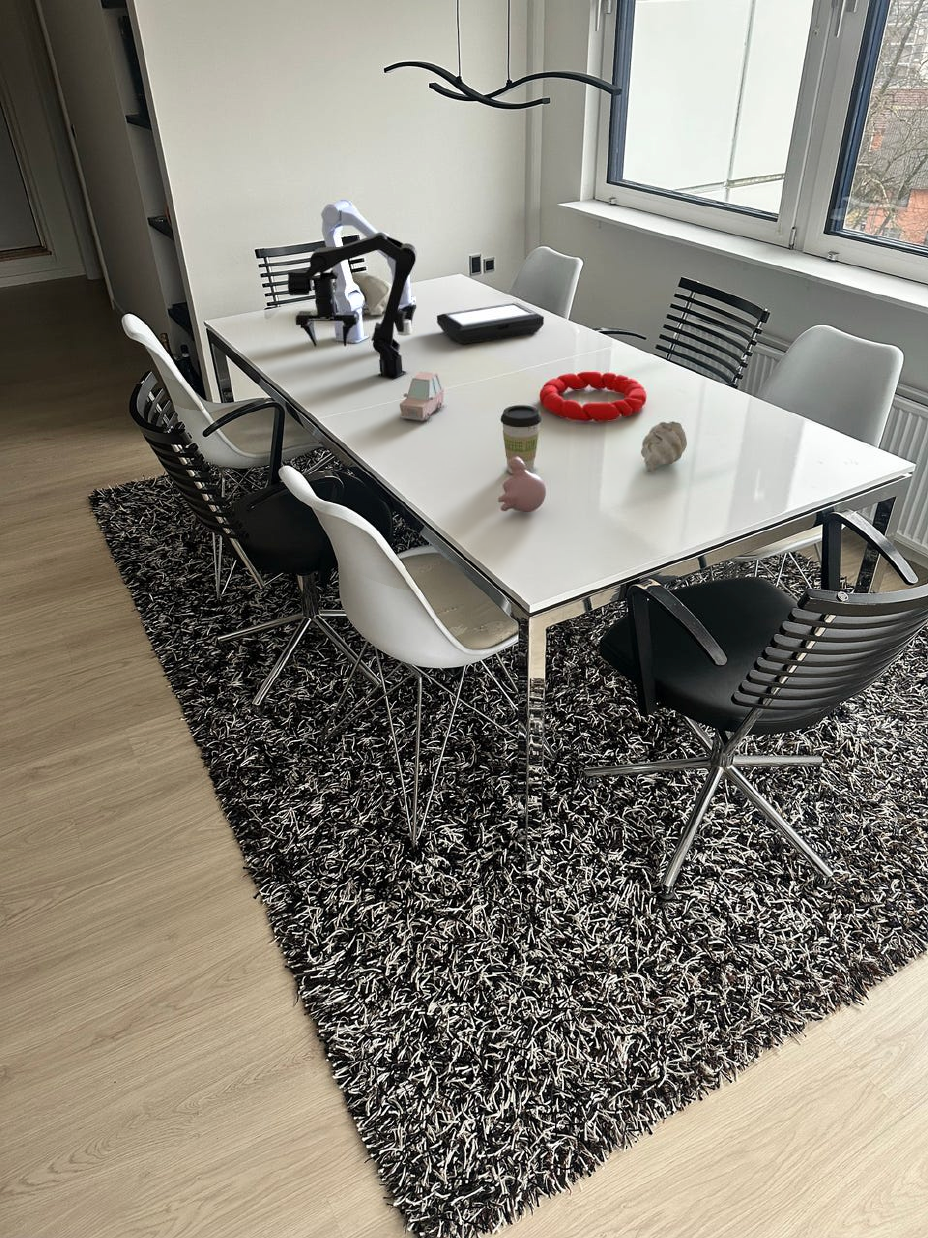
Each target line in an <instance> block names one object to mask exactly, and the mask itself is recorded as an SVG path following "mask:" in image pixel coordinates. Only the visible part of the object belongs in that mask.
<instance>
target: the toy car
mask: <svg viewBox="0 0 928 1238" xmlns="http://www.w3.org/2000/svg"><path fill="white" fill-rule="evenodd" d="M441 384H442V383H441V381H440V378H439V375H438V373H436V372H426V371H419V373H417V374H416V375H414V376H413V377H412V378H411V381H410V385H409V388H408V390H407V391H408V392H407V393H404V394H403V397H404V398H405V399H404V400H403V401H401V402H400V403H399V409H400V414H401V418H402V419H407V420H415V421H423V422H424V421H425V422H426V421H429V420H430V416H431V414H433V413H434V412H435V411H440V410H441V408H442V406H443V403H444V395H445V393H444V392H445V388H444V387H442V385H441Z"/></svg>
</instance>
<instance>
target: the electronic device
mask: <svg viewBox="0 0 928 1238" xmlns="http://www.w3.org/2000/svg"><path fill="white" fill-rule="evenodd" d="M544 320H545V317H544V316H543V315H541V314H539V313H538V312H536V311H533V310H532V309H530V308H528V307H525V305H522V304H520V303H518V302H511V303H504V304H498V305H491V306H485V307H479V308H478V307H477V308H472V309H465V310H459V311H452V312H445V313H441V314H438V315H436V324H438V326H439V328H440V329H441V330H442V332H443V333H445V334H446V335H448V336H449V337H451V338H453V339H454V340H456V341H458V342H459V343H461V345H465V344H472V343H479V342H484V341H490V340H496V339H497V340H498V339H502V338H508V337H509V338H510V337H514V336H521V335H527V334H531V333H532V334H533V333H538V332H539V330H540V329H541V328H542V327H543V326H544V325H545V321H544Z"/></svg>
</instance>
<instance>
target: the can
mask: <svg viewBox="0 0 928 1238" xmlns="http://www.w3.org/2000/svg"><path fill="white" fill-rule="evenodd" d="M412 333H413V332H412V325H411V320H409V319H404V332H397V335H398V336H400V337H401V336H402V337H406V336H410V335H412Z"/></svg>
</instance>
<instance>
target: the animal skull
mask: <svg viewBox="0 0 928 1238" xmlns="http://www.w3.org/2000/svg"><path fill="white" fill-rule="evenodd" d="M351 277H352V280H353V282H354V283H355V284H356V285H357V286H358V287H359V290H360V292H361V293H362V295H363V297H364V305H363V307H362V311H361V313H362V316H363V315H365V312H364V308H365V309H367V310H368V311H369V314H370V316H374V315H375V316H383V312H384V311H385V310H386V306H387V303H388V299H389V295H390V292H391V288H392V284H391V283H389V282H388V281H386V280H385V279H383V278H381V277H380V276H379V277H378V276H377V275H376V276H375V275H372V274H369V273H368V272H360V271H359V272H352V273H351ZM333 287H334V295H335V292H336V289H337V283H336V279H333Z"/></svg>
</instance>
